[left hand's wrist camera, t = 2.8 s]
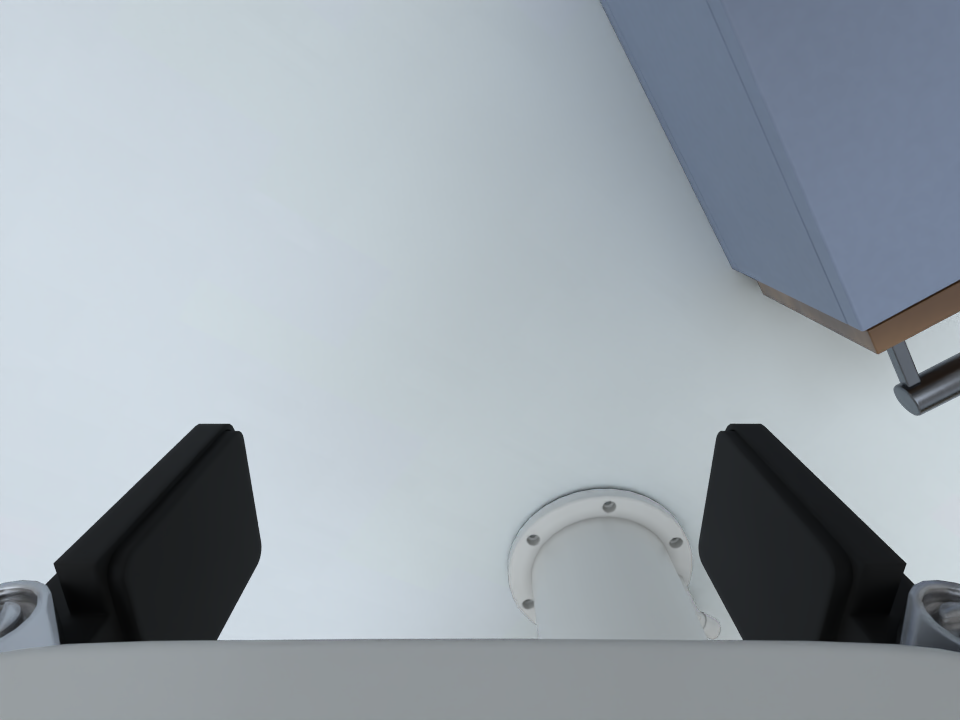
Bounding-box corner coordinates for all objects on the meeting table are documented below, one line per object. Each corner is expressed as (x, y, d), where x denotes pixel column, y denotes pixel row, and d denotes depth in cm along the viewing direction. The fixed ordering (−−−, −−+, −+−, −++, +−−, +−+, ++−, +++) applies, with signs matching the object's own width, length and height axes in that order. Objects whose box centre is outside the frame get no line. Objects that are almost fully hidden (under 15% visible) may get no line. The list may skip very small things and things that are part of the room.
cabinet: (902, 168, 30) (1141, 183, 19) (732, 268, 32) (862, 332, 21) (751, -252, 24) (977, -578, 13) (551, -97, 26) (605, -269, 15)
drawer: (947, 298, 32) (1135, 359, 23) (802, 375, 33) (923, 461, 24) (777, -175, 24) (957, -366, 15) (600, -44, 26) (666, -144, 17)
